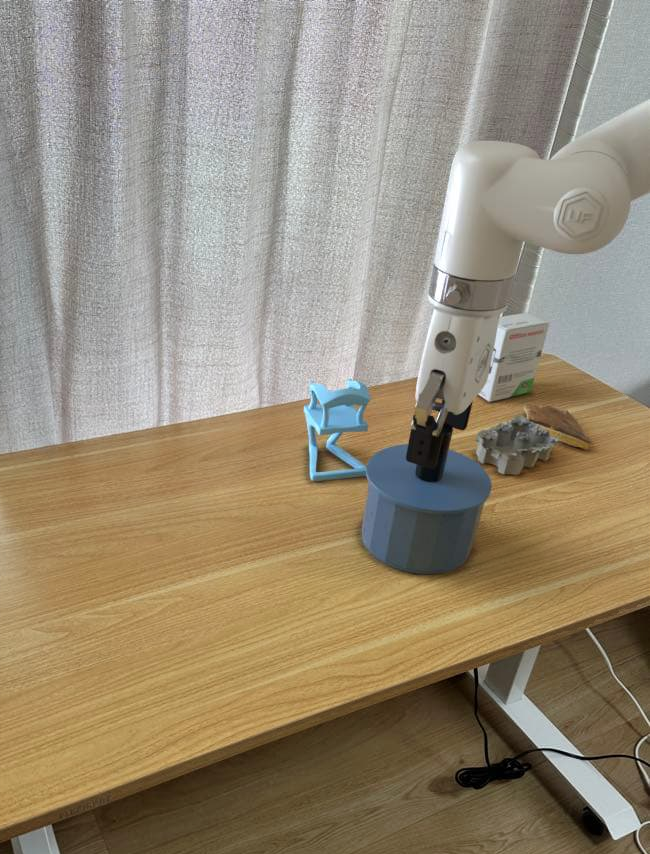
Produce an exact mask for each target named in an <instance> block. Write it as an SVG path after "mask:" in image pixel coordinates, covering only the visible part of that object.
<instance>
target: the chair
mask: <svg viewBox="0 0 650 854" xmlns="http://www.w3.org/2000/svg"><path fill="white" fill-rule="evenodd" d="M346 386H347V387H346V388H342V389H338V390H329V389H328V388H327V387H326V386H325V385H324V384H323V383H315V381H309V392H310V403H309V404H306V405H304V406H303V413H304V416H305V421H306V427H307V434H308V441H309V444H308V451H309V476H310V477H309V478H310V480H311V481H312V482H323V481H331V480H332V481H333V480H340V479H350V478H359V477H367V476H366V468H367V465H365V464H364V463H363V462H362V461H360V460H359V459H357V458H356V457H355V456H353V455H352V454H350V453H348V452H347V451H346V450H344V449H343V448H342V447H340V446H339V445H338V444H337V442H338V440H339V439H340V437H342V435H343V434H344V433H349V432H350V433H361V432H368V430H369V423H368V422H367V421H366V420H365V419H364V413H365V410H366V409H367V407H368V405H369V403H370V401H371V396H370V391H369V389H368V387H367V385H366V384H365V383H364V382H362V381H358V380H353V379H351V378H347V384H346ZM318 402H319V403H320V404H318ZM355 406H360V407H359V408H358V410H357V409H356V407H355ZM316 432H317V434H318V435H319V436H329V435H330V437H329V438H328V439H327V440H326V445H325V448H326V449H327V450H328V451H329V452H331V454H333V455H334V456H336V457H337V458H339V459H340V460H341V461H343V462H345V463H346V464H348V465H349V466H350V467H352V468H350V469H341V470H330V471H320V472H317V462H318V442H317V436H316Z"/></svg>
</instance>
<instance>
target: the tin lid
mask: <svg viewBox="0 0 650 854" xmlns="http://www.w3.org/2000/svg"><path fill="white" fill-rule="evenodd" d="M436 421H437V420H435V422H436ZM440 433H443V439H442V443H441V448H440V452H439V457H438V462H437V465H436V467H435V468H434V469H430V468H426V467H423V466H420V465H417V464H414V463H411V462H408V461H407V460H406V454H407V448H408V443H404V444H397V445H392V446H388V447H385V448H383V449H381V450H378V451H377V452H375V453H374V454H373V455H372V456H371V457H369V460H368V462H367V464H366V467H367V468H366V476H365V477H366V480H367V482H368V484H369V483H370V485H371V486H372V488H373V489H374V490H375V491H376V492H377V493H378V494H380V495H381V496H382V497H384V498H385V499H387V500H389V501H390V502H393V503H395V504H397V505H399V506H402V507H404V508H407V509H411V510H414V511H419V512H424V513H430V514H457V513H463V512H467V511H470V510H473V509H475V508H477V507H479V506H481V505H482V504H483V503H484V504H485V503H486V502H487V500H488V499H489V497H490V496H491V492H492V487H493V486H492V479H491V477H490V475H489V473H488V472H487V471H486V470H485V468H484V467H483V466H481V465H480V464H479V463H478V462H476V461H475V460H473V458H471V457H468V456H466V455H464V454H462V453H460V452H458V451H455V450H452V449H450V445H451V441H452V438H453V433H454V428H452V426H451V425H449V424H448V423H445V422H444V424H443V427H442V429H441V432H440Z"/></svg>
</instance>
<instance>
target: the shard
mask: <svg viewBox="0 0 650 854" xmlns="http://www.w3.org/2000/svg"><path fill="white" fill-rule="evenodd" d="M523 410H524V411H525V413H526V419H527V420H528V421H529V422H531V423H532V422H534V423H535V424H536V425H538V426H540V427H541V428H542V429H543V430H548V431H549V434H550V436H551V437H553V438H555V437H558V438H559V440H558V441H557V442H561V443H564V444H566V445H569V446H572V447H575V448H580V449H584V450H587V451H588V450H590V447H591V446H594V443H593V442H592V441H591V440H590V438H589V437H588V436H587V435H586V433H585V432H584V430H583V428H582V427H581V425H580V424H579V422H578V420H577V419H576V418H575V417H574V415H572V414H571V413H570V411H569V410H568V409H565V408H561V407H558V406H555V405H534V404H525V405H524V406H523Z"/></svg>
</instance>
